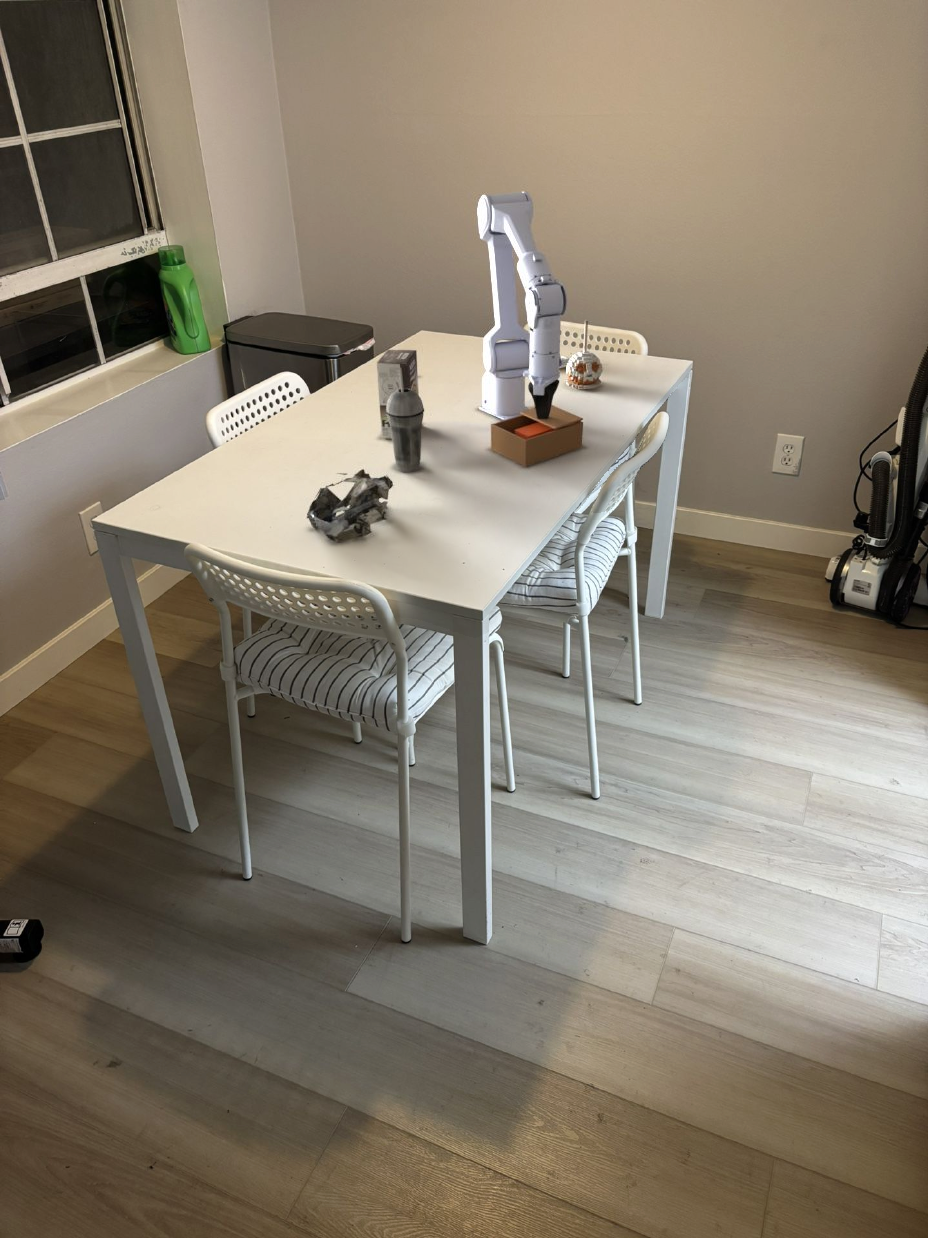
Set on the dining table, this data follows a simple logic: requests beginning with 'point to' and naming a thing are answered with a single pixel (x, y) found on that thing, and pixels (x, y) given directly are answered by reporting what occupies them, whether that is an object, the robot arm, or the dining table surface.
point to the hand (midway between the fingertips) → (543, 417)
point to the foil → (358, 514)
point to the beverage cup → (406, 427)
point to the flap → (554, 417)
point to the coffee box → (395, 380)
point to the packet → (533, 430)
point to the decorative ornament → (584, 368)
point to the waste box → (533, 441)
